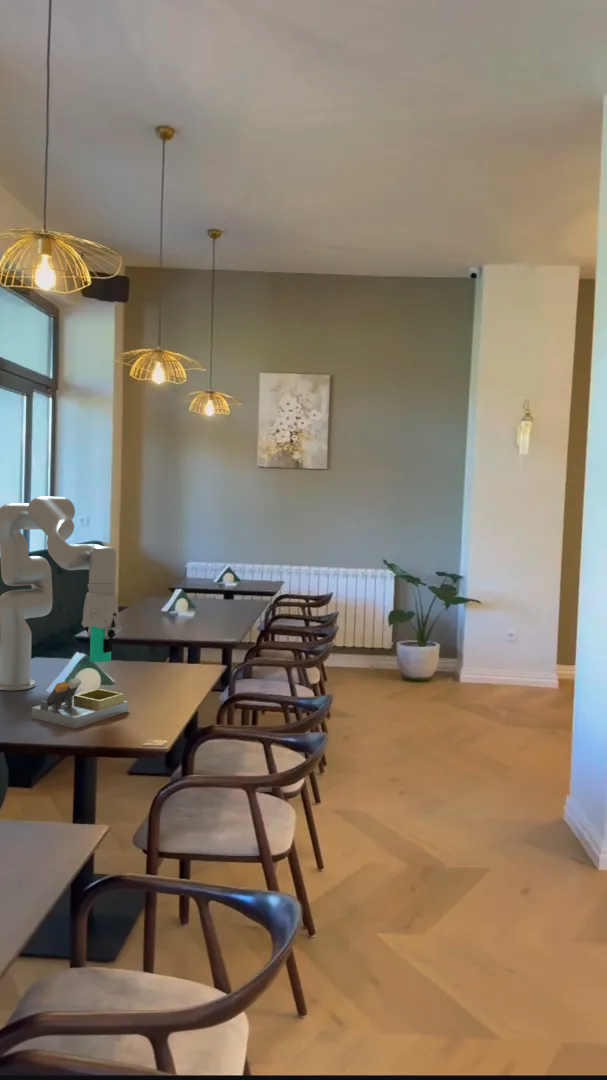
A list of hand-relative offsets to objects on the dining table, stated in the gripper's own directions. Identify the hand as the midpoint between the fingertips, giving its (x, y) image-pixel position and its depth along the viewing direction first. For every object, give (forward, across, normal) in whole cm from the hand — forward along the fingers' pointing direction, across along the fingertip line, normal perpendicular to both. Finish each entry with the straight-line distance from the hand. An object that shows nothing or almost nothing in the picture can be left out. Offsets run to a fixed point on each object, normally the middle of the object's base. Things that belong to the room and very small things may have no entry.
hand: (100, 650), depth 223 cm
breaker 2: (+15, -7, -7) cm, 18 cm away
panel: (+18, -3, -4) cm, 19 cm away
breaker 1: (+15, -7, -12) cm, 20 cm away
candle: (+3, 0, 0) cm, 3 cm away
